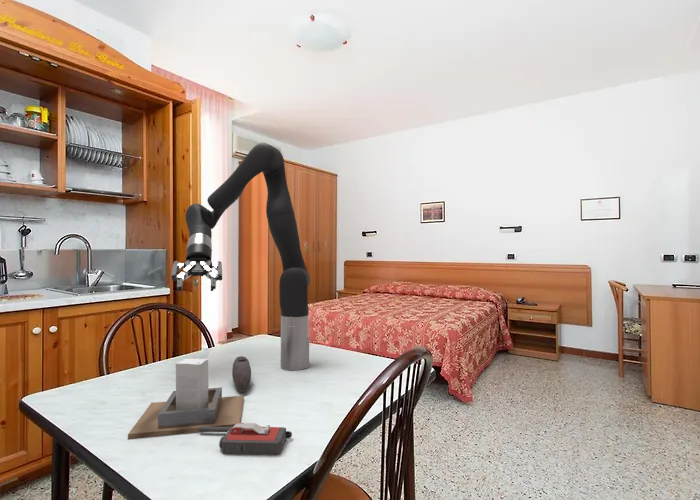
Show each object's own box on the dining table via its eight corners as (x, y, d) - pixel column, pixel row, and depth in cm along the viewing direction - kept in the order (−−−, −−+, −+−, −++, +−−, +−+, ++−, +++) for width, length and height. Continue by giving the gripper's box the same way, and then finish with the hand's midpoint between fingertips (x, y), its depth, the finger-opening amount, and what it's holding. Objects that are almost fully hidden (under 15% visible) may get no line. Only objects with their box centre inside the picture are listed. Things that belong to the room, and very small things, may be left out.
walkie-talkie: (294, 435, 79) (201, 432, 80) (294, 414, 79) (201, 412, 80) (285, 458, 70) (181, 455, 71) (285, 435, 70) (181, 432, 71)
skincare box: (208, 408, 88) (209, 358, 88) (200, 416, 84) (200, 364, 84) (184, 407, 89) (184, 357, 89) (174, 415, 85) (175, 363, 85)
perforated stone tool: (252, 395, 100) (252, 369, 100) (232, 397, 98) (232, 371, 98) (250, 377, 114) (250, 354, 114) (232, 378, 112) (232, 355, 112)
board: (243, 399, 97) (243, 395, 97) (239, 428, 81) (239, 423, 81) (151, 406, 92) (151, 402, 92) (127, 438, 76) (128, 434, 76)
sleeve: (221, 399, 94) (221, 387, 94) (214, 423, 81) (214, 409, 81) (173, 403, 92) (173, 390, 92) (157, 428, 79) (158, 414, 79)
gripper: (174, 241, 115) (168, 281, 104) (222, 242, 119) (222, 281, 109) (176, 258, 120) (170, 298, 109) (222, 258, 124) (222, 296, 114)
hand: (196, 289), depth 109 cm, fingers open, 8 cm apart
